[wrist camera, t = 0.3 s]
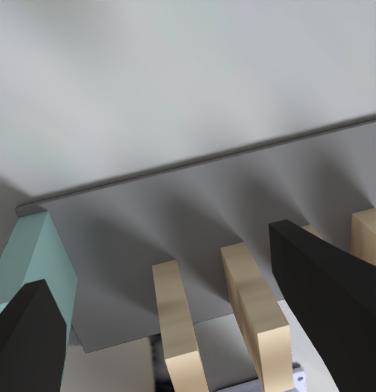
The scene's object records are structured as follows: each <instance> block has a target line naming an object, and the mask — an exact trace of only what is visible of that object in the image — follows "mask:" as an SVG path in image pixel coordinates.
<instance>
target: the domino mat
mask: <svg viewBox="0 0 376 392" xmlns="http://www.w3.org/2000/svg"><path fill="white" fill-rule="evenodd" d="M372 208H376V119H375V120H371V121H367V122H363V123H358V124H354V125H350V126H346V127H342V128H338V129H334V130H330V131H326V132H321V133H317V134H313V135H309V136H305V137H301V138H297V139H293V140H289V141H285V142H280V143H276V144H272V145H268V146H264V147H260V148H256V149H252V150H248V151H244V152H239V153H235V154H231V155H227V156H223V157H219V158H215V159H211V160H207V161H202V162H198V163H194V164H190V165H186V166H182V167H178V168H174V169H170V170H166V171H161V172H157V173H153V174H149V175H145V176H141V177H137V178H133V179H129V180H124V181H120V182H116V183H112V184H108V185H104V186H100V187H96V188H92V189H88V190H83V191H79V192H75V193H71V194H67V195H63V196H59V197H55V198H51V199H47V200H42V201H38V202H34V203H30V204H26V205H22V206H18V207H17V208H16V210H15V211H16V213H17V215H18V217H19V218H20V217H24V216H28V215H33V214H37V213H41V212H45V211H48V212H49V214H50V216H51V219H52V221H53V223H54V226H55V228H56V230H57V232H58V235H59V237H60V239H61V241H62V244H63V246H64V248H65V251H66V253H67V255H68V257H69V260H70V262H71V264H72V266H73V269H74V271H75V273H76V276H77V278H78V280H77V287H76V294H75V300H74V307H73V314H72V320H71V325H72V327H73V329H74V331H75V333H76V335H77V337H78V339H79V341H80V343H81V345H82V347H83V349H84V351H85V353H89V352H93V351H97V350H100V349H104V348H108V347H111V346H115V345H119V344H122V343H126V342H130V341H133V340H137V339H141V338H144V337H148V336H152V335H155V334H159V333H161V329H160V322H159V314H158V307H157V299H156V292H155V284H154V277H153V269H152V266H153V265H157V264H161V263H165V262H168V261H172V260H176V259H177V263H178V267H179V271H180V275H181V279H182V283H183V287H184V291H185V295H186V299H187V303H188V306H189V310H190V314H191V318H192V323H193V324H196V323H199V322H203V321H207V320H210V319H214V318H218V317H221V316H225V315H229V314H232V313H234V312H233V310H232V307H231V305H230V300H229V294H228V289H227V283H226V277H225V272H224V266H223V260H222V255H221V249H220V248H222V247H226V246H230V245H234V244H238V243H241V242H245V244H246V246H247V248H248V250H249V252H250V253H251V255H252V257H253V259H254V261H255V263H256V264H257V266H258V268H259V270H260V272H261V274H262V275H263V277H264V279H265V281H266V283H267V284H268V286H269V288H270V290H271V292H272V294H273V295H274V297H275V299H276V301H280V300H283V299H284V297H283V295H282V293H281V291H280V289H279V287H278V284H277V282H276V280H275V278H274V275H273V273H272V265H271V252H270V239H269V226H268V224H269V223H273V222H277V221H281V220H285V219H287V220H289V221H291V222H293V223H294V224H296V225H298V226H300V227H303V226H307V225H311V226H312V227H313V228H314V229H315V230H316V232H317V233H318V234H319V235H320V236H321V237H322V238H323V239H324V240H325V241H326V242H328V243H330V244H332V245H334V246H335V247H337V248H339V249H341V250H343V251H345V252H347V253H349V254H350V247H351V223H352V214H353V213H357V212H360V211H364V210H368V209H372Z"/></svg>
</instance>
